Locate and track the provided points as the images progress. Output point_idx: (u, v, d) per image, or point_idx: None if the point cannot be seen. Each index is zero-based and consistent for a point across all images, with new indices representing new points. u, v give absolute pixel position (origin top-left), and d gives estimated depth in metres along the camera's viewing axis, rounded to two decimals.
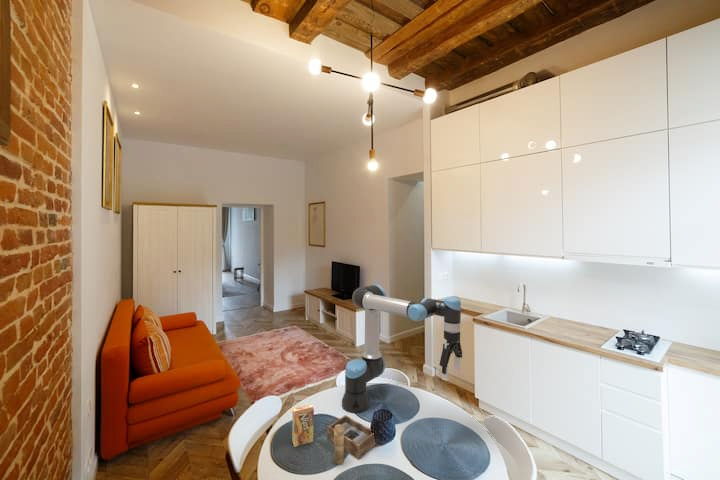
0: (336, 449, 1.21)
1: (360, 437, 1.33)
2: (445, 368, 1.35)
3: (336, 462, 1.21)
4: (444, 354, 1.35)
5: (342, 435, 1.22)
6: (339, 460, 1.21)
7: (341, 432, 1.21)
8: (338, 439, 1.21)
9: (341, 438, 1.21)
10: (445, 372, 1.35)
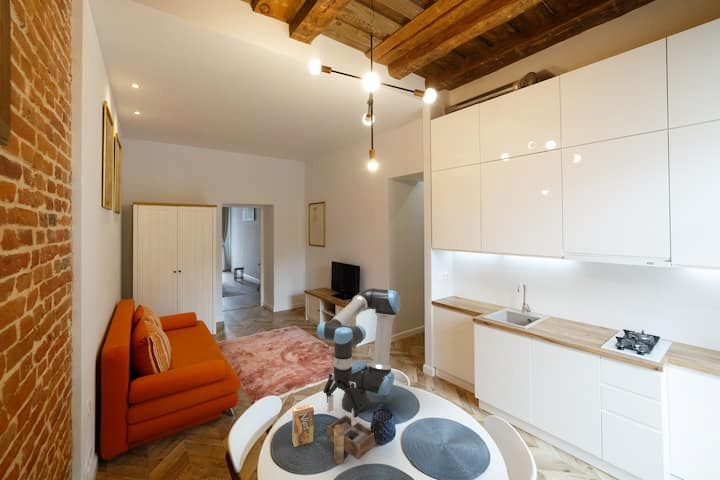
0: (336, 449, 1.21)
1: (360, 437, 1.33)
2: (327, 397, 1.28)
3: (336, 462, 1.21)
4: None
5: (342, 435, 1.22)
6: (339, 460, 1.21)
7: (341, 432, 1.21)
8: (337, 439, 1.21)
9: (341, 438, 1.21)
10: (327, 401, 1.28)
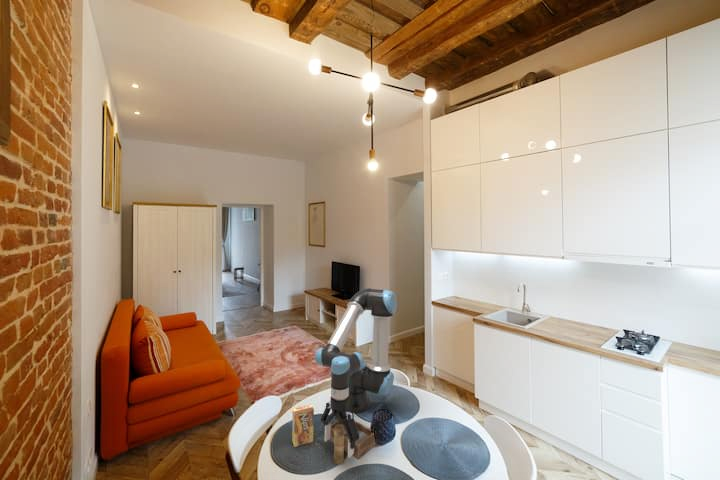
0: (336, 449, 1.21)
1: (360, 437, 1.33)
2: (324, 425, 1.27)
3: (336, 462, 1.21)
4: None
5: (342, 435, 1.22)
6: (339, 460, 1.21)
7: (341, 432, 1.21)
8: (338, 439, 1.21)
9: (341, 438, 1.21)
10: (324, 430, 1.27)
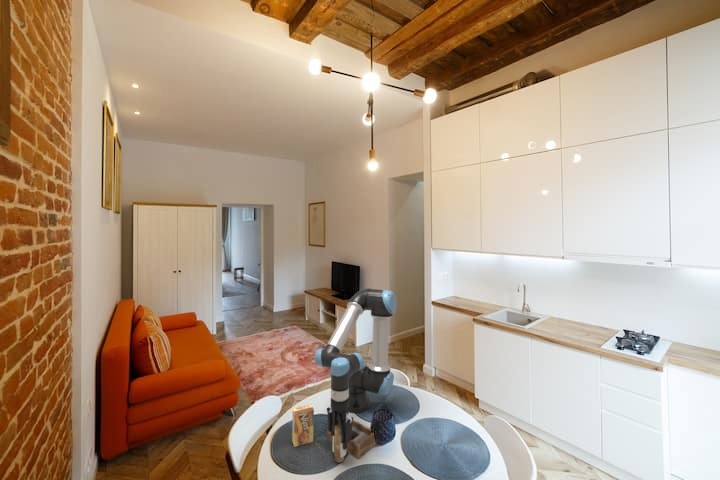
0: (336, 447, 1.22)
1: (360, 437, 1.33)
2: (332, 436, 1.25)
3: (336, 460, 1.22)
4: None
5: None
6: (339, 459, 1.21)
7: None
8: (338, 438, 1.21)
9: (341, 436, 1.22)
10: (332, 440, 1.25)
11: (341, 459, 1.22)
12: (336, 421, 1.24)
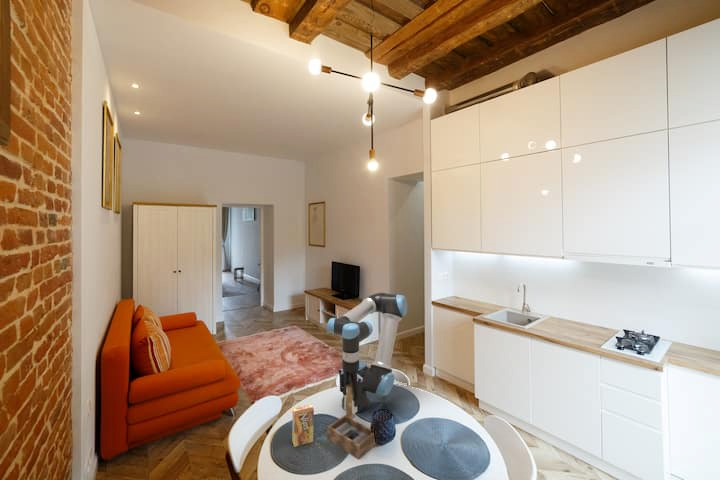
0: (348, 405, 1.31)
1: (360, 437, 1.33)
2: None
3: (348, 417, 1.32)
4: None
5: None
6: (351, 415, 1.31)
7: None
8: (349, 396, 1.31)
9: None
10: (344, 399, 1.35)
11: (352, 416, 1.32)
12: (347, 381, 1.34)
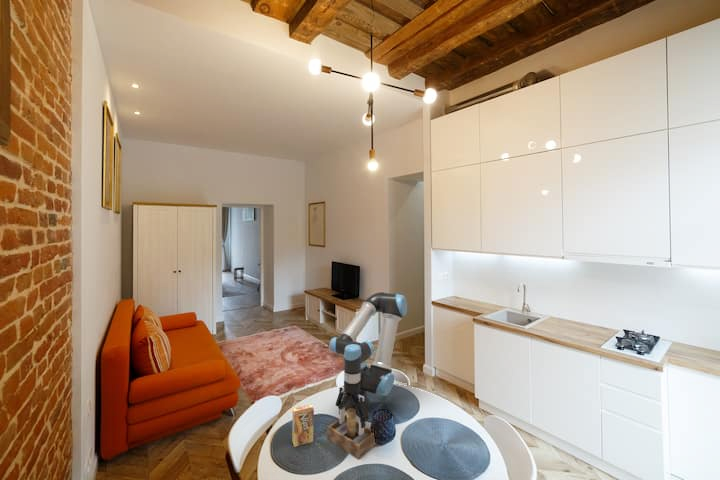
0: (349, 430, 1.33)
1: (360, 437, 1.33)
2: (339, 409, 1.39)
3: None
4: None
5: (354, 418, 1.34)
6: None
7: (353, 415, 1.33)
8: (350, 421, 1.33)
9: (353, 420, 1.33)
10: (339, 413, 1.39)
11: None
12: (346, 400, 1.36)
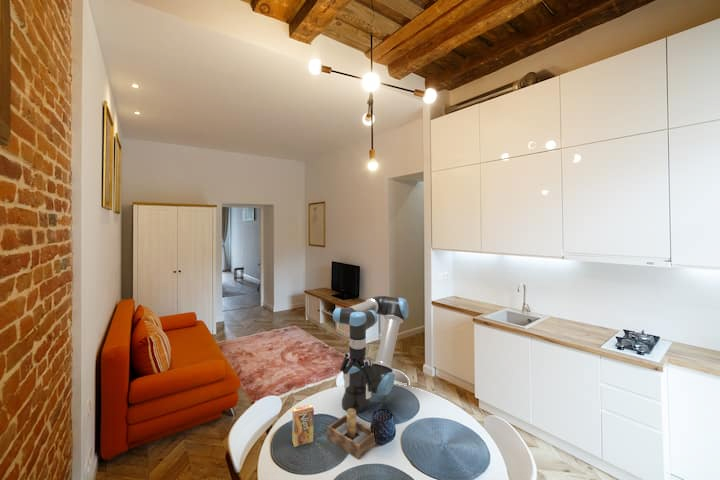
0: (349, 430, 1.33)
1: (360, 437, 1.33)
2: (344, 374, 1.41)
3: None
4: None
5: (354, 418, 1.33)
6: None
7: (353, 415, 1.33)
8: (350, 422, 1.33)
9: (353, 420, 1.33)
10: (344, 378, 1.41)
11: None
12: (351, 365, 1.38)
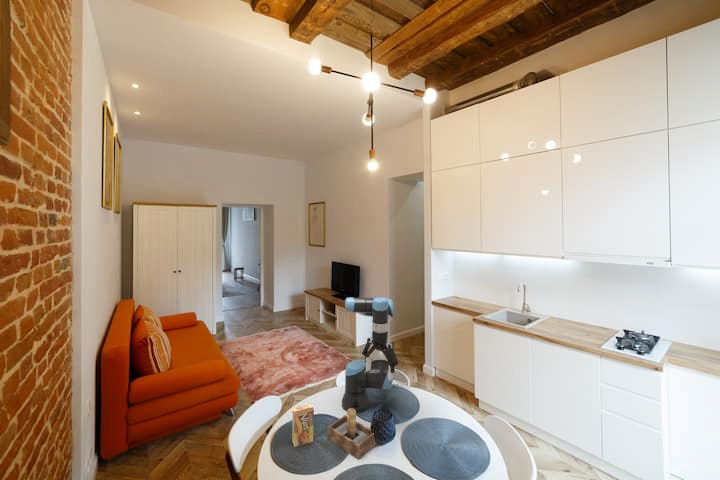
0: (349, 430, 1.33)
1: (360, 437, 1.33)
2: (366, 358, 1.48)
3: None
4: None
5: (354, 418, 1.33)
6: None
7: (353, 415, 1.33)
8: (350, 422, 1.33)
9: (353, 420, 1.33)
10: (366, 361, 1.48)
11: None
12: (373, 349, 1.45)
